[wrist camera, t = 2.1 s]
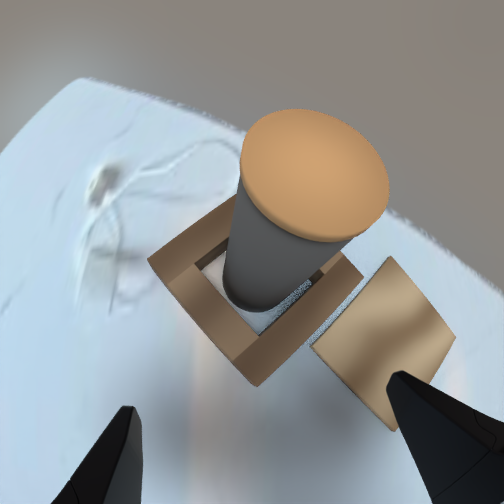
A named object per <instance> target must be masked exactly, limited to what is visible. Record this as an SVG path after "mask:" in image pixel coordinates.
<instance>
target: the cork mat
mask: <svg viewBox="0 0 504 504" xmlns="http://www.w3.org/2000/svg"><path fill="white" fill-rule="evenodd" d="M455 338H456V336H455V335H454V334H453V332H452V331H451V330H450V328H449V327H448V325H447V324H446V323H445V321H444V320H443V319H442V317H441V316H440V315H439V313H438V312H437V311H436V310H435V308H434V307H433V306H432V304H431V303H430V302H429V301H428V299H427V298H426V297H425V296H424V294H423V293H422V292H421V291H420V289H419V288H418V287H417V286H416V284H415V283H414V282H413V281H412V280H411V278H410V277H409V276H408V275H407V274H406V273H405V271H404V270H403V269H402V268H401V267H400V266H399V264H398V263H397V262H396V261H395V260H394V259H393V257H392V256H390V257H388V258H387V259H386V261H385V262H384V263H383V264H382V266H381V267H380V268H379V269H378V271H377V272H376V273H375V274H374V276H373V277H372V278H371V279H370V280H369V282H368V283H367V284H366V285H365V286H364V288H363V289H362V290H361V291H360V292H359V294H358V295H357V296H356V297H355V298H354V299H353V300H352V302H351V303H350V304H349V305H348V306H347V307H346V308H345V310H344V311H343V312H342V313H341V314H340V315H339V316H338V317H337V318H336V320H335V321H334V322H333V323H332V324H331V325H330V326H329V327H328V328H327V329H326V330H325V331H324V333H323V334H322V335H321V336H320V337H319V338H318V339H317V340H316V341H315V342H314V343H313V344H312V345H311V346H310V348H311V349H312V350H313V351H314V352H315V353H316V354H317V355H318V356H319V357H320V358H321V359H322V360H323V361H324V362H325V363H326V364H327V366H328V367H329V368H330V369H331V370H332V371H333V372H334V373H335V374H336V375H337V376H338V377H339V378H340V379H341V380H342V381H343V382H344V383H345V384H346V385H347V386H348V387H349V388H350V389H351V390H352V391H353V392H354V393H355V395H356V396H357V397H358V398H359V399H360V400H361V401H362V402H363V403H364V404H365V405H366V406H367V407H368V408H369V409H370V410H371V411H372V412H373V413H374V414H375V415H376V416H377V417H378V418H379V419H380V420H381V421H382V422H383V423H384V424H385V425H386V426H387V427H388V428H389V429H390V430H391V431H394V432H395V431H396V430H397V428H398V427H399V426H398V424H397V421H396V419H395V416H394V413H393V410H392V407H391V404H390V401H389V398H388V396H387V393H386V386H387V384H388V382H389V379H390V377H391V375H392V373H394V372H396V371H400V370H404V371H406V372H407V373H409V374H411V375H413V376H415V377H416V378H418V379H420V380H422V381H424V382H425V383H427V384H429V383H430V382H431V380H432V379H433V377H434V375H435V374H436V372H437V370H438V369H439V367H440V365H441V364H442V362H443V360H444V358H445V357H446V355H447V353H448V351H449V350H450V348H451V346H452V344H453V342H454V340H455Z"/></svg>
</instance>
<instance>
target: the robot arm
mask: <svg viewBox="0 0 504 504" xmlns="http://www.w3.org/2000/svg"><path fill="white" fill-rule="evenodd" d="M386 393H387V396H388V398H389V401H390V404H391V407H392V410H393V413H394V416H395V419H396V421H397V424H398V426H399V428H400V430H401V433H402V435H403V437H404V439H405V441H406V443H407V445H408V448H409V450H410V452H411V454H412V457H413V459H414V461H415V463H416V465H417V468H418V470H419V472H420V475H421V477H422V479H423V482H424V484H425V486H426V489H427V491H428V494H429V496H430V498H431V501H432V504H504V422H501V421H498V420H496V419H494V418H491V417H489V416H487V415H485V414H483V413H481V412H479V411H477V410H475V409H473V408H471V407H469V406H468V405H466V404H464V403H462V402H460V401H458V400H456V399H455V398H453V397H451V396H449V395H447V394H445V393H444V392H442V391H440V390H438V389H436V388H434V387H433V386H431V385H429V384H427V383H425V382H424V381H422V380H420V379H418V378H416V377H415V376H413V375H411V374H409V373H407V372H406V371H404V370H400V371H396V372H394V373H392V375H391V377H390V379H389V382H388V384H387V386H386ZM142 474H143V452H142V424H141V420H140V417H139V415H138V413H137V411H136V408H135V407H134V406H122V407H121V408H120V409H119V411H118V412H117V413H116V415H115V416H114V417H113V419H112V420H111V422H110V423H109V424H108V426H107V427H106V429H105V430H104V431H103V433H102V434H101V436H100V437H99V438H98V440H97V441H96V443H95V444H94V445H93V447H92V448H91V450H90V451H89V452H88V454H87V455H86V457H85V458H84V459H83V461H82V462H81V464H80V465H79V466H78V468H77V469H76V471H75V472H74V474H73V475H72V476H71V478H70V480H69V481H68V482H67V483H66V485H65V486H64V488H63V489H62V490H61V492H60V493H59V494H58V496H57V497H56V498H55V499H54V500H53V502H52V503H51V504H141V491H142Z"/></svg>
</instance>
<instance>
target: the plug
mask: <svg viewBox="0 0 504 504" xmlns="http://www.w3.org/2000/svg"><path fill="white" fill-rule="evenodd" d="M388 199H389V180H388V175H387V172H386V169H385V166H384V164H383V162H382V160H381V158H380V156H379V155H378V153H377V152H376V150H375V149H374V148H373V146H372V145H371V144H370V143H369V142H368V141H367V140H366V139H365V138H364V137H363V136H362V135H361V134H360V133H359V132H357V131H356V130H355V129H354V128H352V127H350V126H349V125H348V124H346V123H344V122H342V121H341V120H339V119H337V118H334V117H332V116H329V115H327V114H324V113H320V112H317V111H312V110H305V109H288V110H281V111H277V112H273V113H271V114H269V115H266V116H265V117H263V118H261V119H260V120H258V121H257V122H256V123H255V124H254V125H253V126H252V127H251V128H250V129H249V131H248V133H247V134H246V136H245V139H244V141H243V146H242V152H241V157H240V179H239V184H238V190H237V195H236V201H235V206H234V212H233V217H232V223H231V229H230V235H229V241H228V246H227V252H226V258H225V264H224V271H223V287H224V290H225V293H226V295H227V296H228V298H229V299H230V300H231V301H232V302H233V303H234V304H235V305H236V306H237V307H239V308H241V309H243V310H245V311H249V312H264V311H268V310H270V309H272V308H274V307H275V306H277V305H278V304H279V303H280V302H281V301H283V300H284V299H285V298H286V297H287V296H289V295H290V294H291V293H292V292H293V291H294V290H296V289H297V288H298V287H299V286H300V285H301V284H303V283H304V282H305V281H306V280H307V279H308V278H309V277H311V276H312V275H313V274H314V273H315V272H316V271H317V270H319V269H320V268H321V267H322V266H323V265H324V264H325V263H327V262H328V261H329V260H330V259H331V258H332V257H333V256H334V255H335V254H337V253H338V252H339V251H340V250H341V249H342V248H343V247H344V246H345V245H346V244H348V243H349V242H350V241H351V240H352V239H353V238H354V237H356V236H358V235H360V234H362V233H363V232H365V231H366V230H367V229H368V228H369V227H370V226H371V225H372V224H373V223H374V222H376V221H377V220H378V219H379V218H380V216H381V215H382V214H383V212H384V210H385V208H386V206H387V203H388Z"/></svg>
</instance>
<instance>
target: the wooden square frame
mask: <svg viewBox="0 0 504 504" xmlns="http://www.w3.org/2000/svg"><path fill="white" fill-rule="evenodd" d="M236 195H237V194H235V195H234V196H232V197H231V198H229V199H228V200H227V201H225V202H224V203H222V204H221V205H219V206H218V207H217V208H215V209H214V210H212V211H211V212H209V213H208V214H207V215H205V216H204V217H202V218H201V219H200V220H198V221H197V222H196V223H194V224H193V225H191V226H190V227H189V228H187V229H186V230H185V231H183V232H182V233H181V234H179V235H178V236H177V237H175V238H174V239H172V240H171V241H170V242H168V243H167V244H166V245H164V246H163V247H162V248H161V249H159V250H158V251H157V252H155V253H154V254H153V255H151V256H150V257H149V258H147V260H148V262H149V264H150V266H151V267H152V269H153V271H154V272H155V273H156V275H157V276H158V277H159V278H160V280H161V281H162V282H163V283H164V285H165V286H166V287H167V289H168V290H169V291H170V292H171V294H172V295H173V296H174V297H175V298H176V300H177V301H178V302H179V303H180V305H181V306H182V307H183V308H184V309H185V311H186V312H187V313H188V314H189V315H190V317H191V318H192V319H193V320H194V321H195V322H196V324H197V325H198V326H199V327H200V328H201V329H202V331H203V332H204V333H205V334H206V335H207V336H208V337H209V339H210V340H211V341H212V342H213V343H214V344H215V345H216V346H217V347H218V349H219V350H220V351H221V352H222V353H223V354H224V355H225V356H226V357H227V358H228V360H229V361H230V362H231V363H232V364H233V365H234V366H235V367H236V368H237V369H238V370H239V371H240V372H241V373H242V374H243V376H244V377H245V378H246V379H247V380H248V381H249V382H250V383H251V384H253V385H254V386H256V387H258V386H259V385H260V384H261V383H262V382H263V381H265V380H266V379H267V378H268V377H269V376H270V375H271V374H272V373H273V372H274V371H275V370H276V369H277V368H279V367H280V366H281V365H282V364H283V363H284V362H285V361H286V360H287V359H288V358H289V357H290V356H291V355H292V354H293V353H294V352H295V351H296V350H297V349H298V348H299V347H300V346H301V345H302V344H303V343H304V342H305V341H306V340H307V339H308V338H309V337H310V336H311V335H312V334H313V333H314V332H315V331H316V330H317V329H318V328H319V327H320V326H321V325H322V324H323V322H324V321H325V320H326V319H327V318H328V317H329V316H330V315H331V314H332V313H333V312H334V311H335V310H336V309H337V307H338V306H339V305H340V304H341V303H342V302H343V301H344V300H345V299H346V297H347V296H348V295H349V294H350V293H351V292H352V291H353V290H354V288H355V287H356V286H357V285H358V284H359V283H360V281H361V280H362V279H363V278H364V276H363V275H362V274H361V273H360V272H359V271H358V270H357V268H356V267H355V266H354V265H353V264H352V263H351V262H350V261H349V260H348V259H347V258H346V257H345V255H344V254H343V253H342V252H341V251H339V252H338V253H337V254H335V255H334V256H333V257H332V258H331V259H330V260H329V261H328V262H327V263H325V264H324V265H323V266H322V267H321V268H320V269H319V270H317V271H316V272H315V273H314V274H313V275H312V276H311V277H309V278H308V279H309V280H310V281H311V282H312V283H313V284H312V285H311V286H310V287H309V288H308V289H307V290H306V291H305V292H304V293H303V294H302V295H301V296H300V297H299V298H298V299H297V300H296V301H295V302H294V303H293V304H291V305H290V306H289V307H288V308H287V309H286V310H285V311H284V312H283V313H282V314H281V315H280V316H279V317H278V318H277V319H276V320H275V321H273V322H272V323H271V324H270V325H269V326H268V327H267V328H266V329H265V330H264V331H263V332H261V333H260V334H259V335H257V334H256V333H255V332H254V331H253V330H252V329H251V328H250V327H249V325H248V324H247V323H246V322H245V321H244V320H243V319H242V318H241V317H240V316H239V314H238V313H237V312H236V311H235V310H234V309H233V308H232V307H231V306H230V304H229V303H228V302H227V301H226V300H225V299H224V298H223V297H222V295H221V294H220V293H219V292H218V291H217V290H216V289H215V287H214V286H213V285H212V284H211V283H210V282H209V281H208V279H207V278H206V277H205V276H204V275H203V274H202V272H201V271H200V270H202V269H203V268H204V267H205V266H207V265H208V264H209V263H210V262H212V261H213V260H214V259H216V258H217V257H218V256H219V255H221V254H222V253H223V252H224V251H226V250H227V246H228V241H229V235H230V229H231V223H232V217H233V212H234V206H235V201H236Z"/></svg>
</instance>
